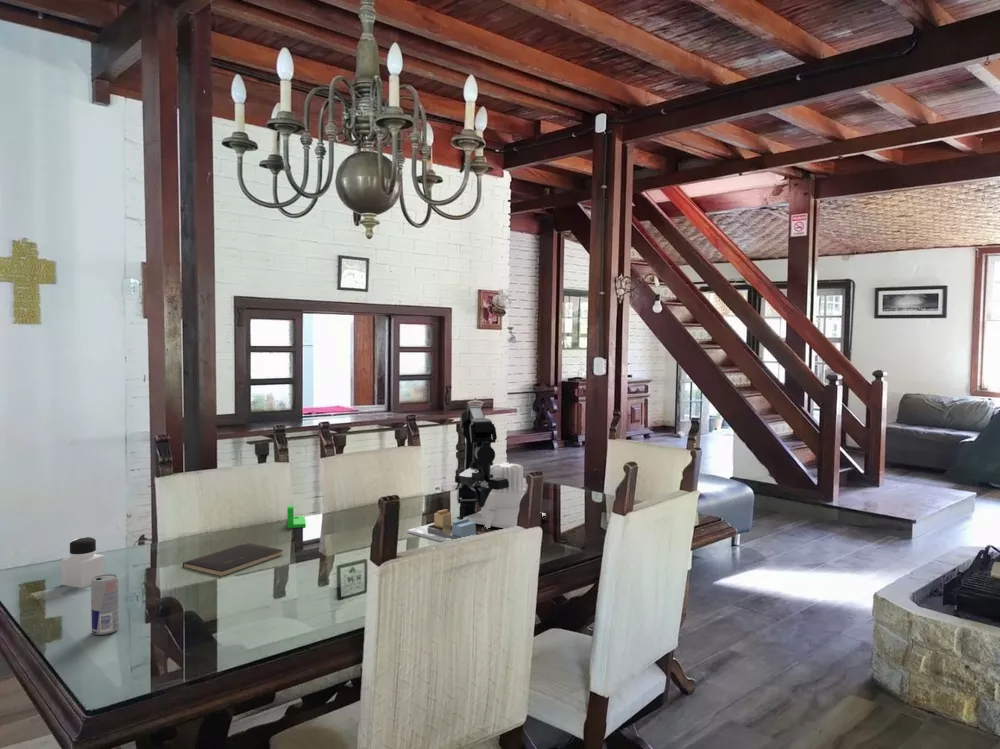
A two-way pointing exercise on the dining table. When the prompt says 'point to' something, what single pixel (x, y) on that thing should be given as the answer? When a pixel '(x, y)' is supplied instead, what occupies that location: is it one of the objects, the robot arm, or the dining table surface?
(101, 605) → the energy drink
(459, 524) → the block
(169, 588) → the dining table surface
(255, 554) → the hardcover book
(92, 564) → the medicine bottle
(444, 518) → the block
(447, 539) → the seat jig
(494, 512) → the recessed light fixture
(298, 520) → the mechanical part
